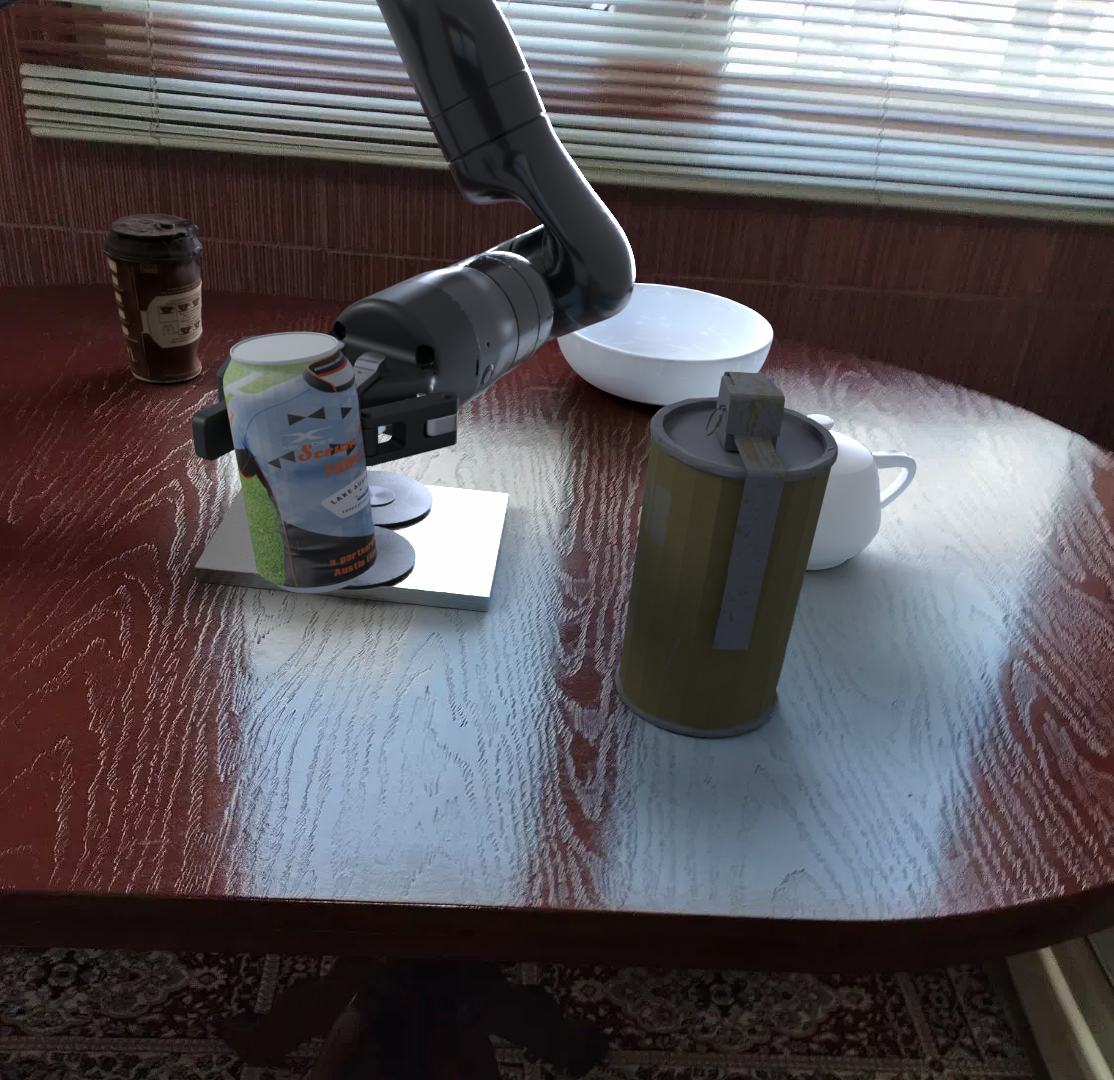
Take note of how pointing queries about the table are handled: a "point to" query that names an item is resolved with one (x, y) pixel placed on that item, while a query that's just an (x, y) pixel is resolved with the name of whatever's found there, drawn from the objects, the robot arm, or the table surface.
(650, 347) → the serving bowl
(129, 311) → the coffee cup
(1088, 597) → the table surface
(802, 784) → the table surface
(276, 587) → the hob
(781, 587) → the canister
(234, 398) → the beverage can
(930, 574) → the table surface
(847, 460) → the teapot
